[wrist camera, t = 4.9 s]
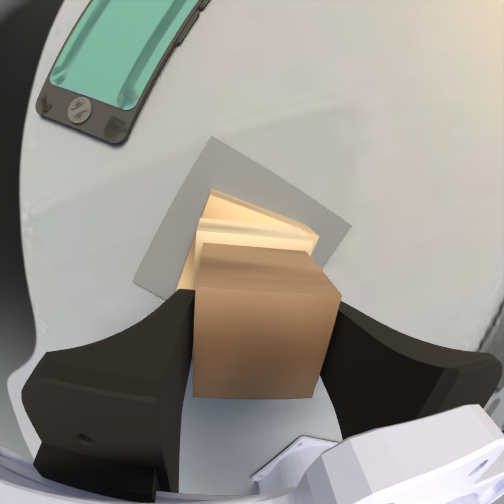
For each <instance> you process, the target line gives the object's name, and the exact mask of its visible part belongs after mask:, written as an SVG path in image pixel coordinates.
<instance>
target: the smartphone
mask: <svg viewBox="0 0 504 504" xmlns="http://www.w3.org/2000/svg"><path fill="white" fill-rule="evenodd" d="M209 1H210V0H91V1H90V2H89V3H88V5H87V6H86V8H85V9H84V11H83V13H82V14H81V16H80V17H79V19H78V21H77V22H76V24H75V25H74V27H73V29H72V30H71V32H70V34H69V36H68V37H67V39H66V41H65V43H64V45H63V46H62V48H61V50H60V52H59V54H58V56H57V58H56V60H55V62H54V64H53V66H52V68H51V70H50V72H49V74H48V76H47V78H46V81H45V83H44V85H43V87H42V90H41V92H40V94H39V97H38V99H37V102H36V111H37V113H38V114H40V115H43V116H46V117H48V118H51V119H53V120H56V121H59V122H61V123H64V124H66V125H69V126H71V127H74V128H76V129H79V130H82V131H84V132H86V133H89V134H91V135H94V136H96V137H99V138H101V139H104V140H106V141H109V142H111V143H121V142H123V141H125V140H126V139H127V138H128V136H129V134H130V131H131V129H132V127H133V125H134V123H135V121H136V119H137V116H138V114H139V112H140V110H141V108H142V106H143V104H144V102H145V100H146V98H147V96H148V94H149V93H150V91H151V89H152V87H153V85H154V83H155V81H156V79H157V78H158V76H159V74H160V72H161V70H162V69H163V67H164V65H165V63H166V62H167V60H168V58H169V57H170V55H171V53H172V52H173V50H174V48H175V47H176V45H179V44H181V42H182V41H183V39H184V38H185V36H186V34H187V33H188V31H189V30H190V28H191V27H192V25H193V24H194V22H195V21H196V19H197V18H198V16H199V14H200V13H199V10H202V9H204V8H205V6H206V5H207V3H208V2H209Z"/></svg>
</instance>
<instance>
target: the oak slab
mask: <svg viewBox="0 0 504 504" xmlns="http://www.w3.org/2000/svg"><path fill="white" fill-rule="evenodd" d="M200 218H208V219H219V220H230V221H241V222H252V223H262V224H272V225H282V226H292V227H300V228H301V229H302V230H303V231H304V232H305V233H306V234H307V235H308V236H309V237H310V238H311V239H312V240H313V247H312V252H313V250H314V247H315V245H316V243H317V241H318V239H319V236H318V235H317V234H316V233H315V232H314V231H313V230H312V229H310V228H309V227H308V226H307V225H305V224H303V223H300V222H298V221H295V220H293V219H290V218H287V217H285V216H282V215H280V214H277V213H275V212H272V211H270V210H267V209H264V208H262V207H259V206H257V205H254V204H251V203H249V202H246V201H243V200H241V199H238V198H235V197H233V196H230V195H227V194H224V193H222V192H219V191H216V190H213V189H211V190H210V193H209V196H208V198H207V201H206V204H205V206H204V209H203V212H202V215H201V217H200ZM197 227H198V226H197ZM196 230H197V228H196ZM195 243H196V231H195V234H194V237H193V240H192V243H191V245H190V248H189V251H188V254H187V257H186V260H185V263H184V266H183V269H182V272H181V275H180V278H179V281H178V284H177V288H176V291H177V290H178V289H190V290H193V276H194V259H195ZM312 252H311V254H312Z"/></svg>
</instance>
